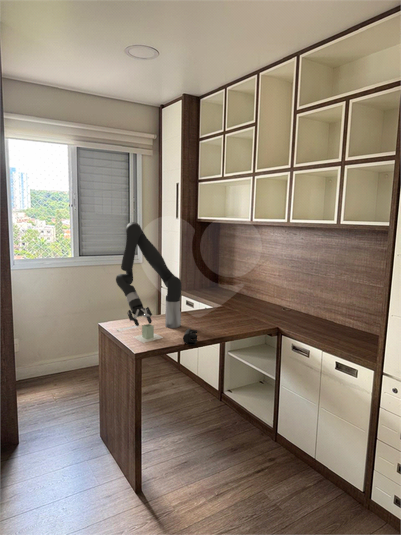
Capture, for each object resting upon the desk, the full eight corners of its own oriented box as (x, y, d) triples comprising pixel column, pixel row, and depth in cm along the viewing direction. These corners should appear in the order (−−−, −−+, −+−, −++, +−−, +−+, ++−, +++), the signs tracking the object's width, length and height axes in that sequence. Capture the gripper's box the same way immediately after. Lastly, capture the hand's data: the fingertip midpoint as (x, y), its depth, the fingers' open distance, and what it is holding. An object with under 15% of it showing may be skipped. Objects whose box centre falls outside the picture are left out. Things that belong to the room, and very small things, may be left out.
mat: (136, 326, 235) (136, 325, 235) (148, 331, 225) (148, 330, 225) (116, 330, 226) (116, 329, 226) (128, 336, 216) (128, 335, 215)
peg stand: (152, 334, 220) (152, 322, 219) (163, 340, 211) (163, 327, 210) (131, 339, 210) (131, 327, 209) (143, 345, 202) (143, 332, 200)
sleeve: (149, 335, 214) (149, 323, 213) (153, 337, 210) (153, 325, 209) (142, 337, 211) (142, 325, 210) (146, 339, 207) (146, 327, 206)
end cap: (185, 339, 214) (185, 327, 213) (197, 339, 213) (197, 328, 212) (182, 344, 204) (182, 333, 203) (195, 345, 203) (195, 334, 202)
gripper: (126, 299, 212) (136, 323, 205) (146, 296, 221) (157, 319, 214) (121, 306, 216) (131, 329, 210) (141, 303, 226) (152, 325, 219)
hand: (144, 324), depth 212 cm, fingers open, 8 cm apart
